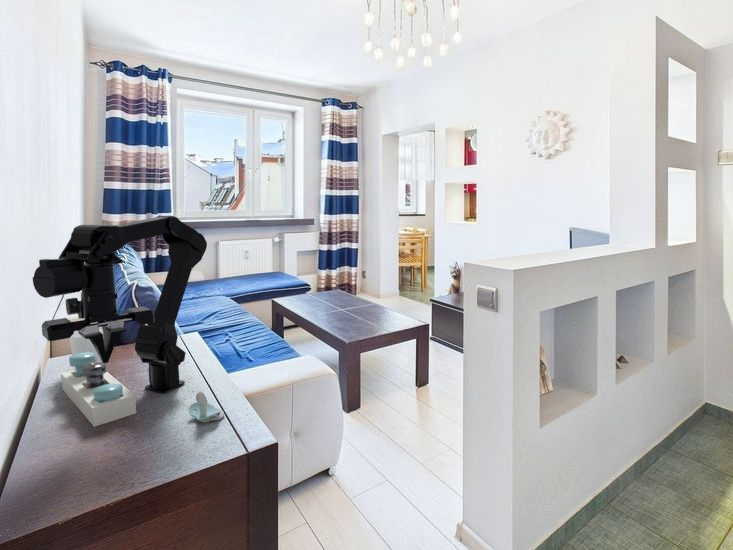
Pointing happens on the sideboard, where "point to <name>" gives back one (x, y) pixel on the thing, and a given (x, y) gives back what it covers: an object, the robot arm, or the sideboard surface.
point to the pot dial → (94, 374)
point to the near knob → (108, 392)
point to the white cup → (83, 345)
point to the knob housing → (95, 409)
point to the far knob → (81, 361)
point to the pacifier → (204, 409)
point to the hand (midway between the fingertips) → (105, 362)
